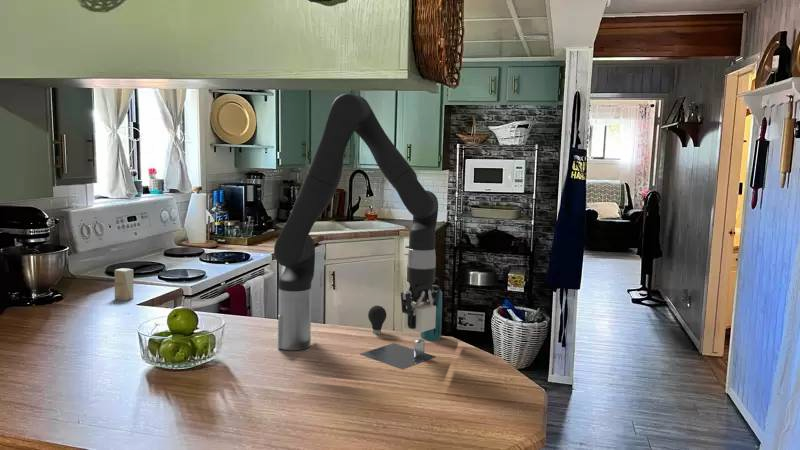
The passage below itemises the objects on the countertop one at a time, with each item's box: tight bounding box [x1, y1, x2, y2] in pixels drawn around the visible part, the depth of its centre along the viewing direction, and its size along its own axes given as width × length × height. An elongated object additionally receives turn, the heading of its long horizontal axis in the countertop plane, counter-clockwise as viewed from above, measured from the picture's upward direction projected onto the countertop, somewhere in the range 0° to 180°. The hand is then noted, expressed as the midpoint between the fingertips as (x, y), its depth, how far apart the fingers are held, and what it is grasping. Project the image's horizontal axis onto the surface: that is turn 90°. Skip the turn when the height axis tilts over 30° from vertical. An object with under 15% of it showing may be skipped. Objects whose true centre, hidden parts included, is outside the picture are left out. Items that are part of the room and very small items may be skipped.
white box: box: [403, 303, 436, 333], centre depth 162 cm, size 6×6×6 cm
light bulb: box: [367, 305, 387, 335], centre depth 184 cm, size 6×6×10 cm
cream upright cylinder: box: [114, 267, 134, 301], centre depth 220 cm, size 5×4×11 cm
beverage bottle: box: [420, 276, 443, 342], centre depth 180 cm, size 6×7×20 cm
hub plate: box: [359, 338, 437, 371], centre depth 164 cm, size 14×16×6 cm
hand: (419, 325), depth 163 cm, fingers closed on white box, 6 cm apart
